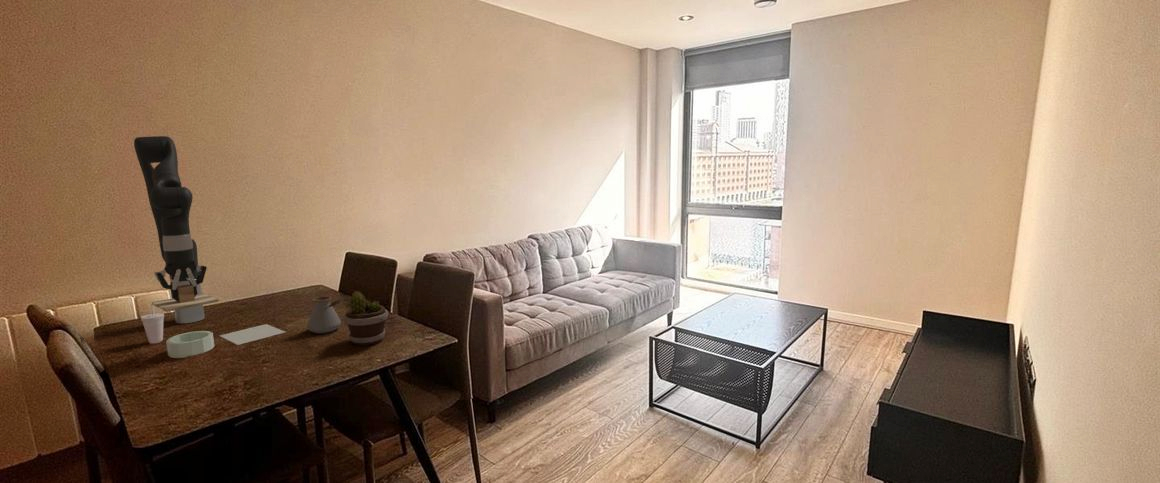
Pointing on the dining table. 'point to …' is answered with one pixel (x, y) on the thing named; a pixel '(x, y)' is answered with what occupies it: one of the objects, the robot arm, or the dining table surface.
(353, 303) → the flowerpot
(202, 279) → the robot arm
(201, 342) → the bowl
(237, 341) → the tray
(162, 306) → the lid
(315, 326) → the coffee pot
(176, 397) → the dining table surface
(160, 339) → the smoothie
